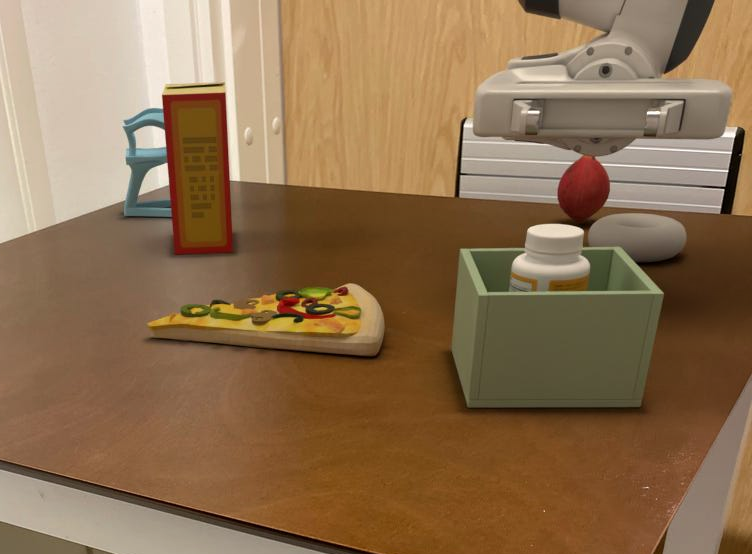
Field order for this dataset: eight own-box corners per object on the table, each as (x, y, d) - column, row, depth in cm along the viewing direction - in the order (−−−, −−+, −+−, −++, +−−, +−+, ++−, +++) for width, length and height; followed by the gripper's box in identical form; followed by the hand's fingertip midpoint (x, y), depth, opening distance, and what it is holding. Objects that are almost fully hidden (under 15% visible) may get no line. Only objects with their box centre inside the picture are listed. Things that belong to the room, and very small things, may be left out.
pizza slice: (395, 358, 79) (397, 321, 78) (143, 368, 79) (139, 331, 77) (370, 301, 92) (371, 269, 90) (153, 310, 92) (150, 277, 90)
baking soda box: (233, 252, 108) (225, 88, 99) (174, 254, 108) (161, 90, 99) (231, 231, 116) (224, 78, 107) (177, 234, 116) (165, 80, 106)
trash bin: (602, 349, 80) (620, 246, 75) (640, 407, 70) (664, 293, 65) (451, 350, 81) (459, 248, 76) (467, 407, 71) (478, 295, 66)
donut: (611, 239, 109) (567, 255, 103) (617, 206, 107) (573, 221, 101) (698, 253, 104) (657, 271, 98) (706, 218, 102) (664, 235, 96)
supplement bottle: (581, 363, 76) (605, 224, 70) (562, 387, 72) (585, 242, 66) (512, 353, 78) (529, 218, 72) (490, 375, 74) (505, 234, 68)
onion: (554, 229, 113) (565, 153, 109) (551, 217, 118) (561, 144, 113) (606, 229, 112) (619, 153, 108) (601, 218, 117) (613, 144, 112)
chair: (124, 207, 128) (114, 105, 121) (187, 204, 129) (180, 102, 122) (123, 220, 122) (112, 113, 115) (189, 217, 123) (182, 110, 116)
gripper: (722, 139, 84) (725, 171, 74) (486, 136, 90) (458, 165, 80) (739, 55, 81) (746, 76, 70) (492, 58, 87) (464, 78, 76)
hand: (590, 124), depth 75 cm, fingers open, 8 cm apart
